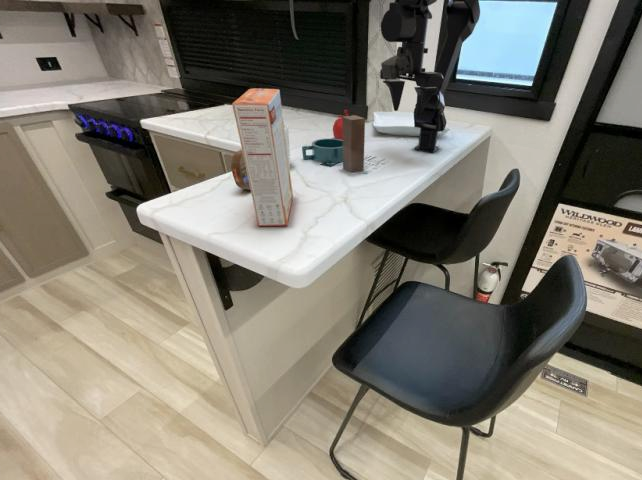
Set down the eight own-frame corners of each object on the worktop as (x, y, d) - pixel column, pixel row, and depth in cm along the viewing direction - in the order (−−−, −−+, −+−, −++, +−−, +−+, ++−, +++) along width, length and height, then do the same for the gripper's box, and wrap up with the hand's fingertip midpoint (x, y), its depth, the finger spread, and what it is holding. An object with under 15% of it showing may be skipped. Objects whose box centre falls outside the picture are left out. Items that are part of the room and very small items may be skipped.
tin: (247, 195, 74) (239, 156, 69) (234, 194, 74) (225, 155, 69) (275, 173, 85) (269, 138, 80) (263, 172, 86) (257, 137, 80)
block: (355, 168, 91) (355, 115, 83) (363, 172, 88) (365, 118, 80) (343, 170, 89) (342, 116, 81) (351, 175, 87) (351, 120, 78)
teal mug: (342, 153, 101) (342, 137, 98) (352, 164, 94) (352, 147, 91) (300, 156, 97) (298, 139, 95) (306, 167, 90) (305, 149, 87)
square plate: (448, 140, 118) (451, 128, 115) (372, 137, 117) (373, 125, 115) (437, 123, 139) (439, 112, 136) (372, 120, 138) (373, 109, 136)
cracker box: (266, 197, 73) (248, 87, 60) (294, 197, 74) (281, 88, 61) (255, 227, 63) (229, 100, 49) (287, 227, 63) (270, 101, 50)
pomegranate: (367, 142, 112) (368, 111, 106) (342, 146, 107) (341, 114, 101) (352, 135, 118) (352, 106, 112) (327, 139, 113) (326, 108, 107)
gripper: (365, 39, 83) (363, 109, 93) (415, 44, 72) (407, 123, 82) (398, 40, 89) (393, 107, 98) (450, 44, 77) (438, 119, 87)
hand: (406, 113), depth 91 cm, fingers open, 9 cm apart
